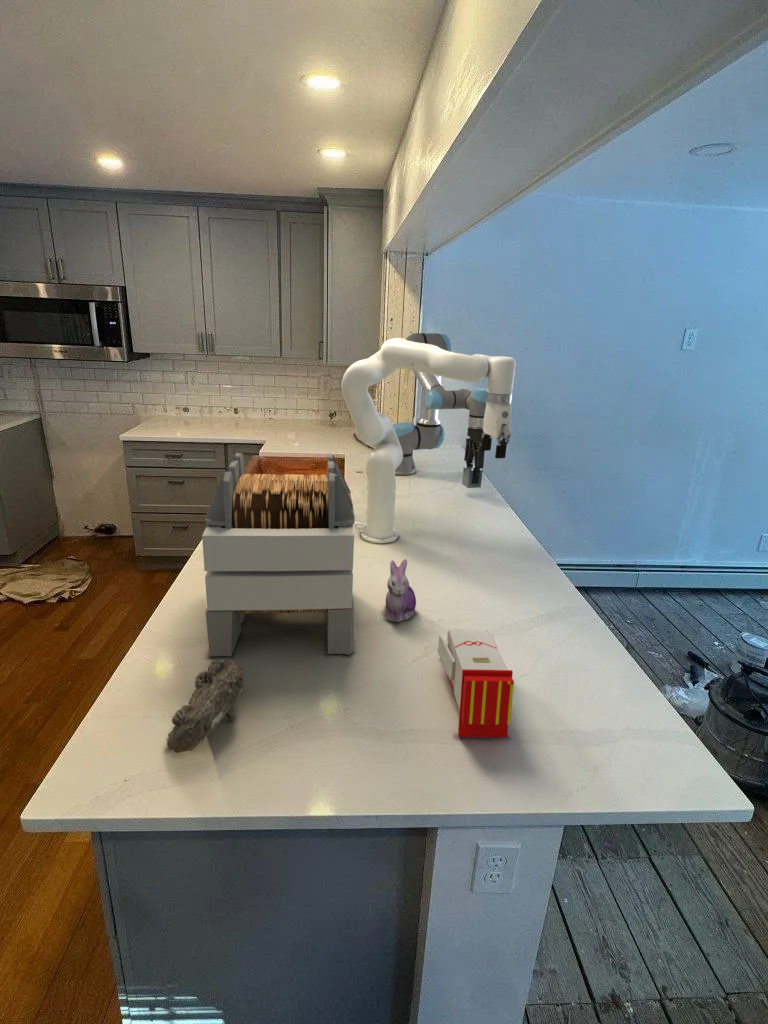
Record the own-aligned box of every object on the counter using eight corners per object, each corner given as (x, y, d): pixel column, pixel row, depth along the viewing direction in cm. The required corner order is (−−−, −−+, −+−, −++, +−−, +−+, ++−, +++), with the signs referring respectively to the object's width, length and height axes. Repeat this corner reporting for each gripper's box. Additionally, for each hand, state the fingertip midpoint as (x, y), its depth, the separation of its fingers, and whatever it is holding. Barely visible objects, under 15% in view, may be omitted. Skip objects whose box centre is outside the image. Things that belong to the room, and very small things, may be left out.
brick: (480, 487, 239) (482, 469, 236) (467, 488, 237) (469, 470, 235) (474, 483, 244) (476, 466, 242) (462, 484, 243) (463, 466, 240)
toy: (488, 613, 130) (523, 677, 101) (484, 667, 133) (517, 744, 104) (435, 612, 130) (455, 676, 101) (432, 666, 133) (451, 743, 103)
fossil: (192, 660, 117) (244, 628, 112) (224, 691, 120) (276, 661, 115) (142, 746, 98) (202, 712, 93) (182, 779, 101) (242, 748, 96)
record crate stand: (228, 587, 157) (220, 443, 143) (347, 586, 161) (350, 445, 147) (206, 659, 125) (193, 482, 111) (354, 655, 129) (359, 484, 115)
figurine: (392, 627, 141) (395, 572, 136) (374, 608, 149) (376, 556, 144) (425, 619, 145) (429, 566, 140) (405, 601, 154) (408, 550, 149)
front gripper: (524, 403, 164) (517, 460, 170) (496, 394, 180) (491, 447, 186) (501, 403, 162) (494, 461, 168) (475, 394, 178) (470, 447, 184)
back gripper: (496, 431, 225) (490, 487, 233) (475, 422, 242) (470, 474, 250) (479, 432, 223) (473, 488, 231) (459, 422, 240) (454, 475, 247)
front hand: (492, 454), depth 177 cm, fingers open, 9 cm apart
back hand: (471, 481), depth 240 cm, fingers closed on brick, 6 cm apart
